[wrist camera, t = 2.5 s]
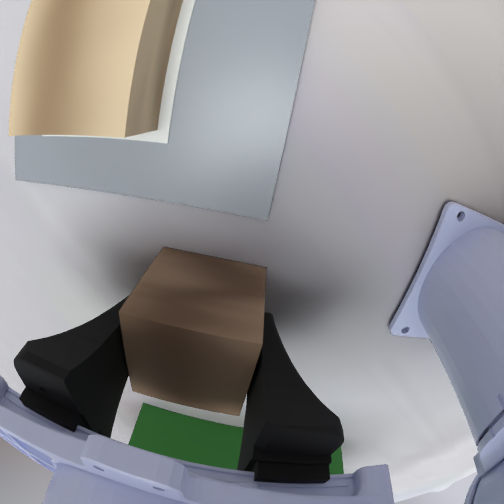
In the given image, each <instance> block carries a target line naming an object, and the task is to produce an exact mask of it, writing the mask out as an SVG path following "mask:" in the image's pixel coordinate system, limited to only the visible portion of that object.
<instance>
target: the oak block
mask: <svg viewBox="0 0 504 504" xmlns="http://www.w3.org/2000/svg"><path fill="white" fill-rule="evenodd" d="M182 3H183V0H33V1H31V3H30V6H29V10H28V13H27V16H26V20H25V23H24V27H23V31H22V35H21V39H20V44H19V48H18V53H17V59H16V64H15V70H14V77H13V84H12V93H11V103H10V117H9V136H18V135H84V136H105V137H120V138H126V137H130V136H134V135H138V134H143V133H147V132H152V131H156V130H157V129H158V121H159V114H160V107H161V101H162V94H163V88H164V83H165V77H166V72H167V66H168V61H169V56H170V52H171V47H172V42H173V38H174V34H175V30H176V25H177V21H178V17H179V14H180V10H181V6H182Z"/></svg>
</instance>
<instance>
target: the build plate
mask: <svg viewBox="0 0 504 504" xmlns="http://www.w3.org/2000/svg"><path fill="white" fill-rule="evenodd" d="M314 3H315V0H183V3H182V6H181V10H180V14H179V17H178V21H177V25H176V30H175V34H174V38H173V42H172V47H171V52H170V56H169V61H168V66H167V72H166V77H165V83H164V88H163V94H162V101H161V107H160V114H159V121H158V129H157V130H156V131H152V132H147V133H143V134H138V135H134V136H130V137H126V138H120V137H105V136H84V135H18V136H15V175H16V180H19V181H27V182H36V183H44V184H51V185H59V186H66V187H74V188H81V189H88V190H94V191H101V192H108V193H114V194H121V195H127V196H133V197H139V198H146V199H152V200H158V201H163V202H169V203H175V204H181V205H186V206H192V207H197V208H203V209H208V210H214V211H219V212H224V213H229V214H235V215H240V216H245V217H250V218H255V219H260V220H265V221H267V220H268V216H269V211H270V207H271V203H272V198H273V194H274V189H275V185H276V180H277V176H278V171H279V167H280V162H281V157H282V153H283V148H284V144H285V139H286V135H287V130H288V126H289V121H290V116H291V112H292V107H293V102H294V98H295V93H296V88H297V84H298V79H299V74H300V70H301V65H302V60H303V55H304V51H305V46H306V41H307V36H308V32H309V27H310V22H311V17H312V12H313V7H314Z"/></svg>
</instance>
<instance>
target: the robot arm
mask: <svg viewBox="0 0 504 504" xmlns="http://www.w3.org/2000/svg"><path fill="white" fill-rule="evenodd" d="M459 212H461V215H460V216H459V218H457V215H458V213H459ZM128 297H129V296H128ZM128 297H126V298H125V299H123V300H122V301H121V302H119V303H118V304H116V305H115V306H114V307H112V308H111V309H109V310H108V311H106V312H104V313H103V314H101V315H100V316H98V317H96V318H94V319H93V320H91V321H89V322H87V323H85V324H83V325H81V326H78V327H76V328H73V329H71V330H68V331H66V332H63V333H60V334H57V335H54V336H50V337H46V338H42V339H37V340H32V341H28V342H27V343H26V344H25V345H24V347H23V348H22V349H21V351H20V352H19V353H18V355H17V356H16V357H15V359H14V366H15V369H16V371H17V373H18V374H19V376H20V378H21V379H22V381H23V383H24V384H25V386H26V388H25V389H24V391H23V392H22V394H19V393H17V392H16V391H14V390H13V389H11V388H9V386H8V384H7V382H6V381H5V380H4V378H3V377H2V376H0V437H2V438H3V439H5V440H6V441H7V442H9V443H10V444H11V445H12V446H14V447H15V448H17V449H18V450H19V451H21V452H22V453H24V454H25V455H27V456H28V457H30V458H31V459H33V460H34V461H36V462H37V463H39V464H40V465H42V466H44V467H45V468H47V469H48V470H50V471H52V472H53V473H54V474H53V476H52V479H51V481H50V484H49V486H48V489H47V492H46V494H45V497H44V500H43V502H42V504H394V499H393V492H392V486H391V480H390V474H389V468H388V465H387V464H384V465H375V466H367V467H362V468H360V469H358V470H356V471H355V472H354V473H352V474H335V475H330V469H329V464H331V462H332V458H331V454H332V453H334V452H335V451H336V450H337V449H338V448H339V447H340V446H341V445H342V443H343V442H344V435H343V429H342V426H341V422H340V419H339V417H338V416H336V415H335V414H334V413H333V412H332V411H331V410H329V409H328V408H327V407H326V406H325V405H324V404H323V403H322V402H321V401H320V400H319V399H318V398H317V397H316V396H315V394H314V393H313V392H312V391H311V390H310V388H309V387H308V386H307V385H306V384H305V382H304V381H303V379H302V378H301V376H300V375H299V373H298V372H297V370H296V369H295V367H294V365H293V364H292V362H291V360H290V358H289V356H288V354H287V352H286V350H285V348H284V346H283V344H282V341H281V339H280V337H279V334H278V331H277V329H276V326H275V322H274V319H273V315H272V314H271V313H266V312H264V328H263V344H262V348H261V351H260V354H259V357H258V360H257V363H256V367H255V370H254V373H253V376H252V379H251V382H250V385H249V388H248V391H247V405H246V413H245V421H244V428H243V435H242V442H241V448H240V455H239V461H238V467H237V470H233V469H226V468H220V467H214V466H208V465H203V464H198V463H193V462H188V461H184V460H180V459H175V458H171V457H168V456H164V455H160V454H156V453H153V452H150V451H146V450H143V449H140V448H137V447H133V446H130V445H127V444H125V443H122V442H119V441H116V440H113V439H111V438H110V437H111V432H112V428H113V424H114V420H115V416H116V412H117V409H118V405H119V402H120V399H121V396H122V393H123V390H124V387H125V384H126V381H127V378H128V376H129V372H128V367H127V362H126V356H125V351H124V345H123V338H122V332H121V325H120V318H119V310H120V309H121V307H122V306H123V304H124V303H125V301H126V300H127V298H128ZM404 327H406V328H404ZM403 328H404V329H403ZM389 330H390V333H391V334H392V335H397V336H407V337H418V338H430V340H431V342H432V344H433V346H434V348H435V350H436V352H437V354H438V356H439V358H440V360H441V362H442V364H443V366H444V368H445V370H446V372H447V374H448V377H449V379H450V381H451V383H452V385H453V388H454V390H455V392H456V394H457V397H458V399H459V402H460V404H461V406H462V409H463V411H464V414H465V416H466V419H467V421H468V424H469V427H470V429H471V432H472V435H473V438H474V440H475V443H476V446H478V448H477V449H478V453H477V454H476V455H475V456H474V458H473V459H474V462H475V465H476V468H477V472H478V474H477V476H476V477H475V479H474V481H473V482H472V484H471V486H470V488H469V491H468V494H467V496H466V499H465V503H464V504H504V224H502V223H500V222H498V221H496V220H494V219H492V218H490V217H488V216H485V215H483V214H481V213H479V212H477V211H474V210H472V209H470V208H468V207H465V206H463V205H461V204H458V203H456V202H453V201H450V202H448V203H447V204H446V205H445V206H444V208H443V211H442V214H441V216H440V219H439V222H438V224H437V227H436V229H435V232H434V234H433V237H432V239H431V242H430V244H429V246H428V249H427V251H426V253H425V256H424V258H423V260H422V262H421V264H420V267H419V269H418V271H417V273H416V275H415V277H414V279H413V281H412V283H411V285H410V287H409V289H408V291H407V293H406V295H405V297H404V299H403V301H402V303H401V305H400V307H399V309H398V311H397V312H396V314H395V316H394V318H393V320H392V321H391V323H390V325H389Z"/></svg>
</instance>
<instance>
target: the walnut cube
mask: <svg viewBox="0 0 504 504" xmlns="http://www.w3.org/2000/svg"><path fill="white" fill-rule="evenodd" d="M266 268H267V267H262V266H257V265H252V264H247V263H242V262H237V261H232V260H227V259H222V258H217V257H212V256H207V255H202V254H197V253H192V252H187V251H182V250H177V249H172V248H167V247H163V248H162V249H161V251H160V252H159V254H158V255H157V256H156V258H155V259H154V261H153V262H152V263H151V265H150V266H149V268H148V269H147V270H146V272H145V273H144V275H143V276H142V278H141V279H140V281H139V282H138V283H137V285H136V286H135V288H134V289H133V291H132V292H131V294H130V295H129V297H128V298H127V300H126V301H125V303H124V304H123V306H122V307H121V309H120V310H119V318H120V325H121V332H122V338H123V345H124V351H125V356H126V362H127V367H128V372H129V377H130V382H131V386H132V391H134V392H137V393H141V394H144V395H147V396H151V397H154V398H158V399H162V400H165V401H169V402H173V403H177V404H181V405H185V406H190V407H194V408H199V409H203V410H208V411H213V412H218V413H224V414H230V415H236V416H239V415H240V412H241V409H242V406H243V403H244V400H245V397H246V394H247V391H248V388H249V385H250V382H251V379H252V376H253V373H254V370H255V367H256V363H257V360H258V357H259V354H260V351H261V348H262V344H263V328H264V309H265V289H266Z"/></svg>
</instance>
